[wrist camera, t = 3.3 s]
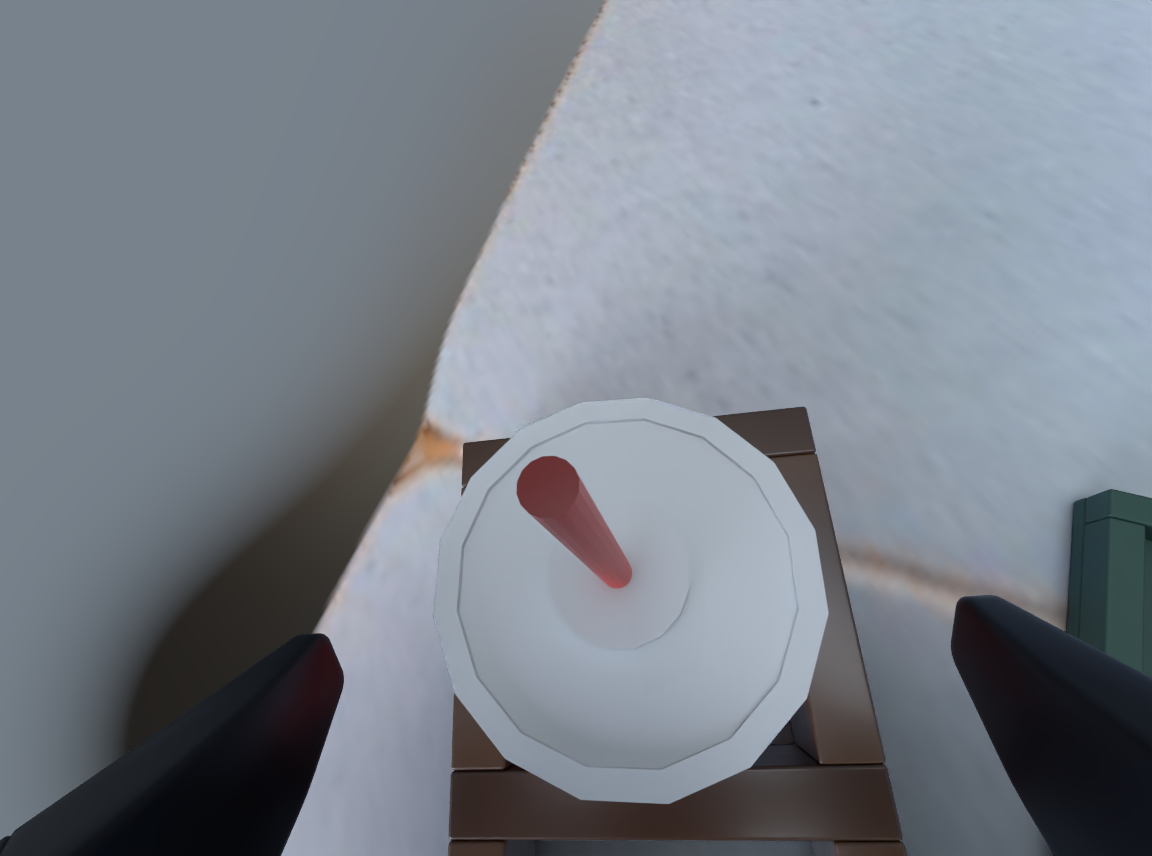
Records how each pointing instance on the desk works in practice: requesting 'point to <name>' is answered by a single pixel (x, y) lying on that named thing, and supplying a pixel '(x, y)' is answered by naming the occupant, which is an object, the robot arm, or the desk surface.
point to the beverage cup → (630, 601)
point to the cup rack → (749, 798)
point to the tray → (1113, 576)
